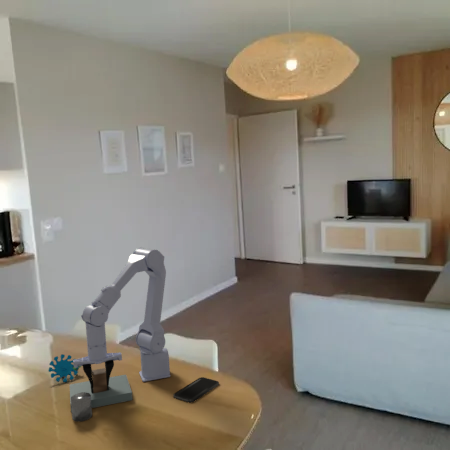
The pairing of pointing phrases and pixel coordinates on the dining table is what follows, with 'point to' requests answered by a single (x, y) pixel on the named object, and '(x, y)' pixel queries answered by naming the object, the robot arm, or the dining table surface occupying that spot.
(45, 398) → the dining table surface
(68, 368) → the teal spiky virus toy
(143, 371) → the robot arm
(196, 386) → the phone
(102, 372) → the walnut peg
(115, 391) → the socket plate
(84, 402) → the gunmetal plug
